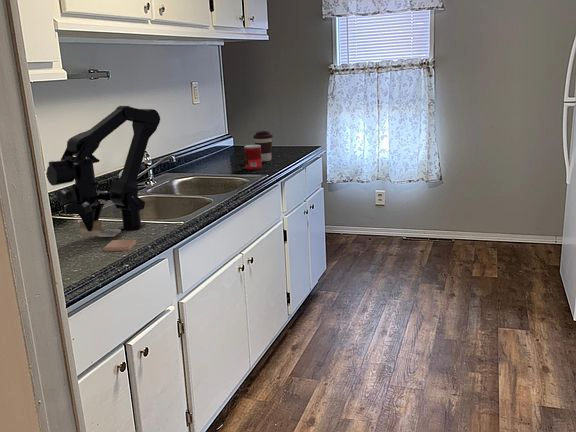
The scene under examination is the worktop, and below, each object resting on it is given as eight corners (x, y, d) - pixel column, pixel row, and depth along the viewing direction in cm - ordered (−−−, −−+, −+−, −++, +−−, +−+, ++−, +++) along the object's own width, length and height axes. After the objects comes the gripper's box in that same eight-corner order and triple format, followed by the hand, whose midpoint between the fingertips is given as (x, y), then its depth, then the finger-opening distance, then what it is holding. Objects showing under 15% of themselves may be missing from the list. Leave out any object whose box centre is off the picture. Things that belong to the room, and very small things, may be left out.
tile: (112, 240, 172) (136, 239, 172) (113, 244, 173) (136, 244, 172) (104, 247, 166) (128, 247, 165) (105, 252, 166) (129, 252, 166)
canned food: (265, 167, 284) (263, 145, 281) (253, 170, 279) (251, 147, 276) (254, 166, 289) (253, 144, 287) (242, 168, 284) (240, 146, 281)
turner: (86, 232, 181) (84, 219, 179) (120, 231, 179) (119, 219, 178) (79, 236, 176) (77, 224, 175) (114, 236, 174) (112, 223, 173)
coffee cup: (271, 162, 299) (270, 132, 295) (252, 162, 301) (251, 133, 297) (275, 158, 309) (274, 130, 305) (257, 159, 310) (255, 130, 307)
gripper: (73, 174, 183) (80, 221, 187) (43, 186, 165) (51, 239, 169) (107, 173, 182) (113, 221, 186) (80, 185, 164) (88, 238, 168)
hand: (91, 229), depth 177 cm, fingers closed on turner, 3 cm apart
